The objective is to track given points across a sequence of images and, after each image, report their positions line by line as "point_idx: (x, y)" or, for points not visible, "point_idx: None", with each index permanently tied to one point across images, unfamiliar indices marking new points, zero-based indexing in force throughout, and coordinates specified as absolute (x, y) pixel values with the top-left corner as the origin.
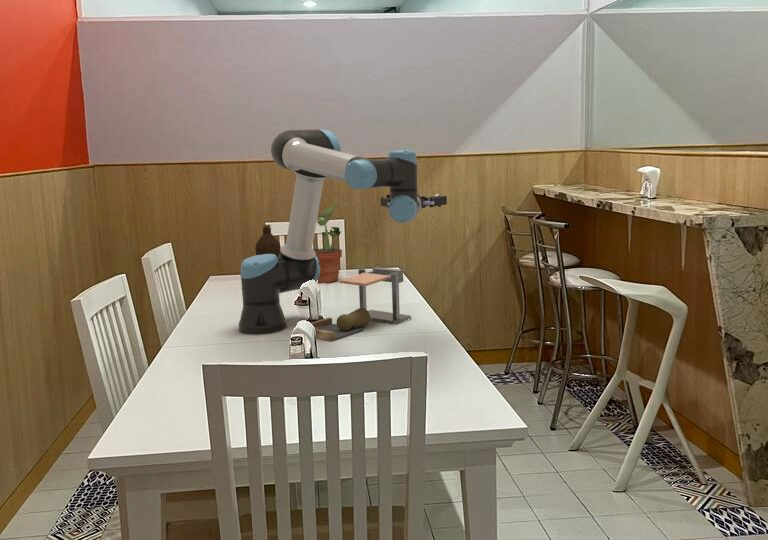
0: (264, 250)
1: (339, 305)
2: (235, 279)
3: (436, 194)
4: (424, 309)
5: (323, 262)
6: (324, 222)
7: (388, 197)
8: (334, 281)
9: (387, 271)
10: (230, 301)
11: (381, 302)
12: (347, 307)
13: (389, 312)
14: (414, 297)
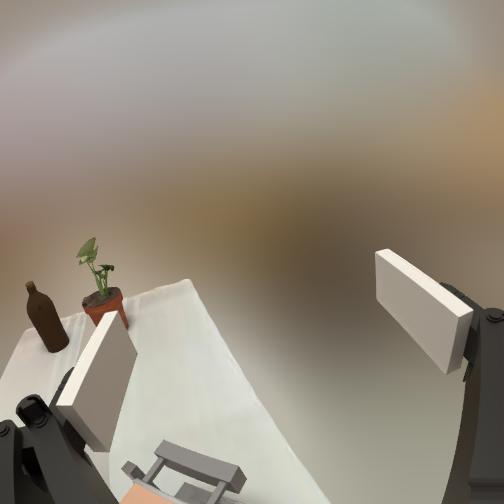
0: (34, 316)
1: (127, 438)
2: (35, 336)
3: (388, 259)
4: (285, 443)
5: (101, 316)
6: (92, 258)
7: (38, 426)
8: None
9: (196, 471)
10: (7, 414)
11: (193, 415)
12: (140, 450)
13: (226, 498)
14: (243, 378)
